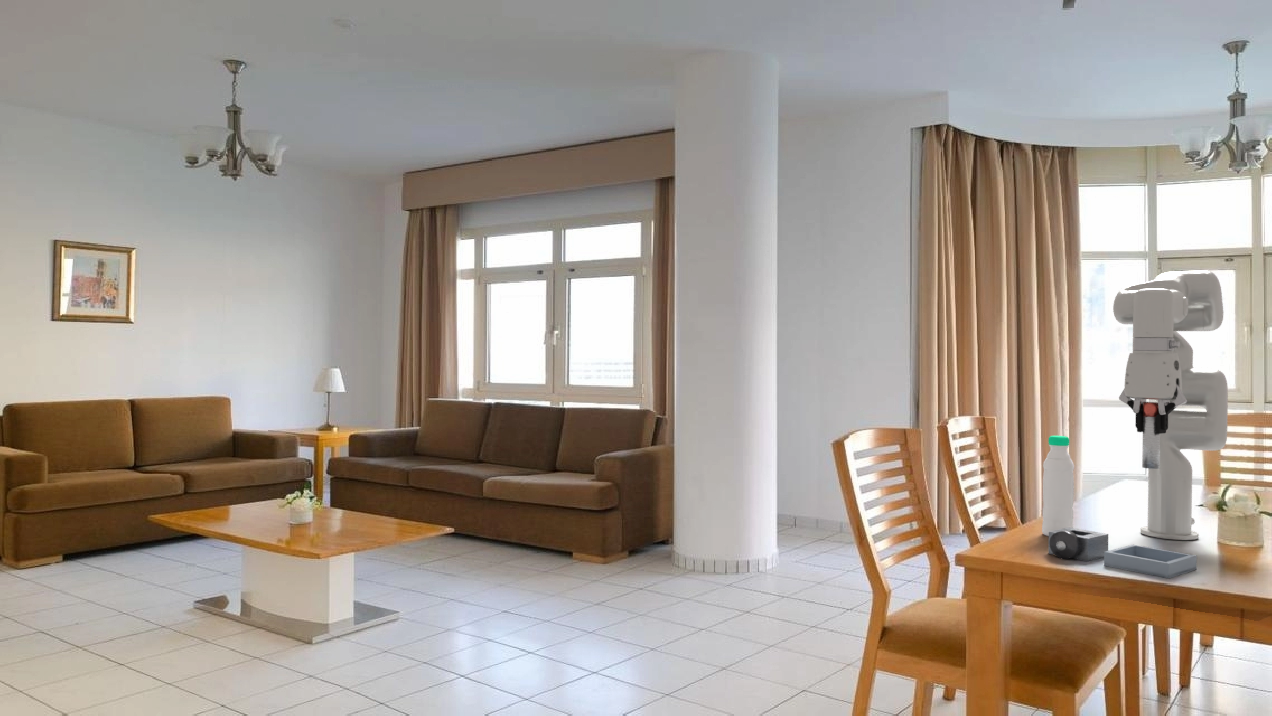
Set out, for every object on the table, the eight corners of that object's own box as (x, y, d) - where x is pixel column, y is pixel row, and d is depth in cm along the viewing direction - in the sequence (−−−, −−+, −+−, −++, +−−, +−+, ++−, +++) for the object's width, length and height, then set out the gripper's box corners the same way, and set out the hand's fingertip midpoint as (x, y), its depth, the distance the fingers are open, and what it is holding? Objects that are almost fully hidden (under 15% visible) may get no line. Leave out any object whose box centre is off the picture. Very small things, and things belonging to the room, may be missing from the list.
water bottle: (1076, 539, 220) (1078, 437, 220) (1046, 537, 221) (1047, 437, 221) (1068, 533, 227) (1070, 435, 226) (1039, 532, 228) (1040, 434, 228)
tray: (1132, 557, 200) (1133, 544, 200) (1196, 569, 190) (1196, 555, 190) (1104, 565, 193) (1104, 551, 192) (1168, 578, 182) (1168, 563, 182)
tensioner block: (1068, 548, 209) (1069, 523, 209) (1108, 556, 202) (1108, 529, 202) (1040, 555, 202) (1041, 528, 202) (1080, 563, 194) (1080, 535, 194)
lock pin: (1146, 466, 193) (1147, 401, 193) (1162, 468, 191) (1163, 402, 191) (1139, 467, 191) (1140, 402, 191) (1155, 469, 189) (1156, 403, 189)
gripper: (1202, 347, 186) (1201, 434, 187) (1121, 346, 200) (1120, 428, 200) (1186, 346, 182) (1185, 436, 182) (1105, 346, 195) (1103, 430, 195)
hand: (1151, 431), depth 191 cm, fingers closed on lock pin, 3 cm apart
